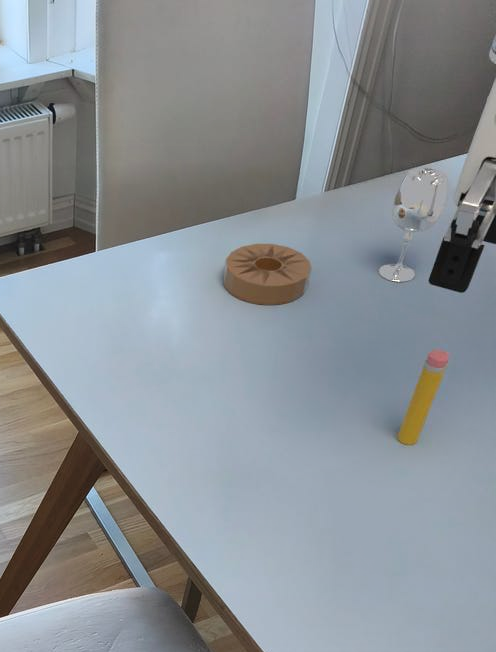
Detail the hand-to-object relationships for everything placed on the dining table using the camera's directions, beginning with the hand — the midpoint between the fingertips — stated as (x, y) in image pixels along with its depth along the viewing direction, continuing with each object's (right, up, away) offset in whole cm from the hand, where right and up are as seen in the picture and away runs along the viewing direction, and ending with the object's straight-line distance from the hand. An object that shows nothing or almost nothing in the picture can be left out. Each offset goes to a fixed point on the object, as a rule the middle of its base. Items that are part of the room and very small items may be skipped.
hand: (465, 262), depth 77 cm
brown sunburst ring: (-8, +12, +35) cm, 38 cm away
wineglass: (+9, +14, +36) cm, 40 cm away
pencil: (+2, -12, +15) cm, 19 cm away
